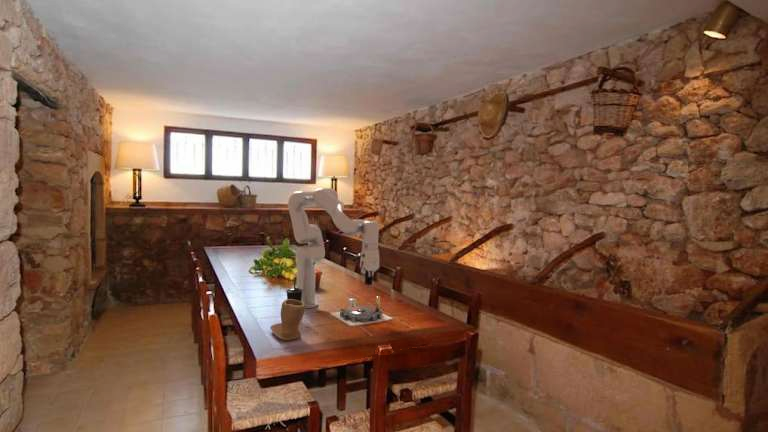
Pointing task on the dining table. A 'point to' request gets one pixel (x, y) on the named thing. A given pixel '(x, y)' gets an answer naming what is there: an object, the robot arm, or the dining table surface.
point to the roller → (352, 302)
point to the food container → (317, 278)
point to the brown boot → (289, 320)
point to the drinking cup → (294, 292)
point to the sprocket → (362, 312)
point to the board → (356, 323)
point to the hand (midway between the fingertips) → (368, 284)
